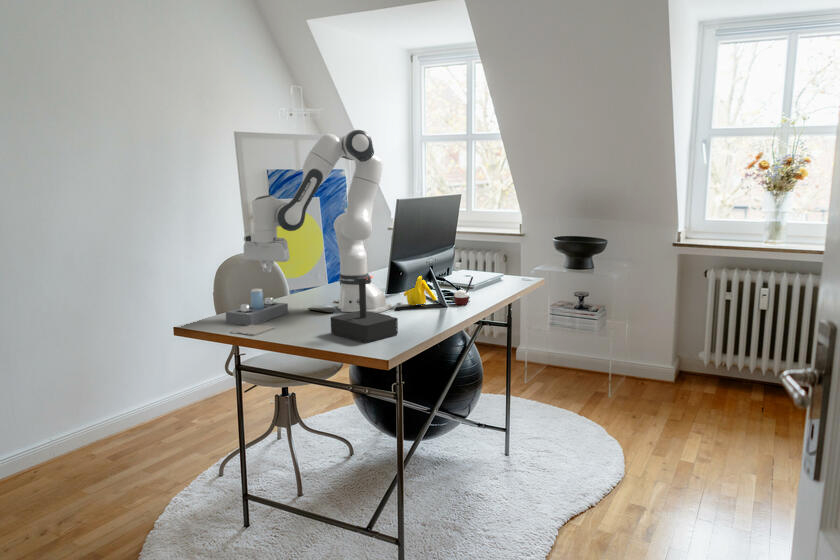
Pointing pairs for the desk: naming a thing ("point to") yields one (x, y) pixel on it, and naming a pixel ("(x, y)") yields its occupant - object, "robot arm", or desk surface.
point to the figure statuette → (419, 293)
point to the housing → (257, 314)
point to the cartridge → (257, 299)
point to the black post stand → (364, 321)
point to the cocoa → (462, 296)
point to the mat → (253, 329)
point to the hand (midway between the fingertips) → (267, 272)
